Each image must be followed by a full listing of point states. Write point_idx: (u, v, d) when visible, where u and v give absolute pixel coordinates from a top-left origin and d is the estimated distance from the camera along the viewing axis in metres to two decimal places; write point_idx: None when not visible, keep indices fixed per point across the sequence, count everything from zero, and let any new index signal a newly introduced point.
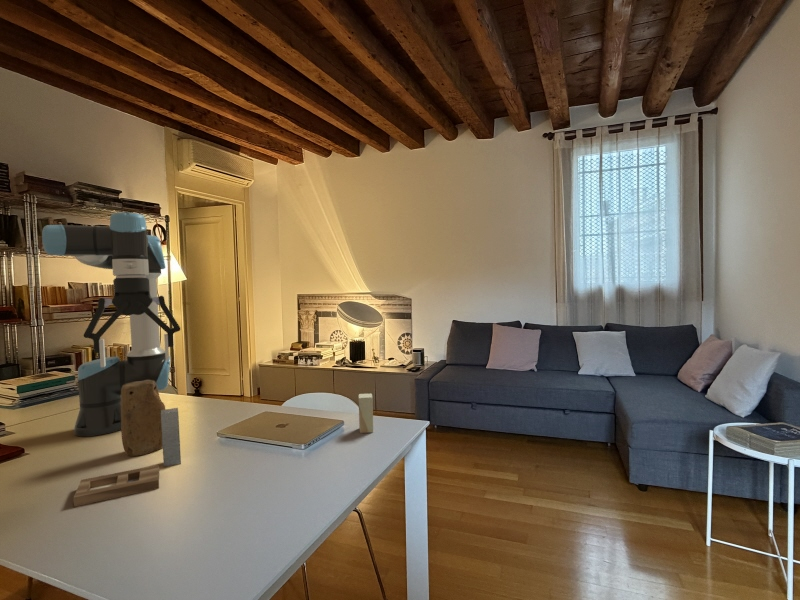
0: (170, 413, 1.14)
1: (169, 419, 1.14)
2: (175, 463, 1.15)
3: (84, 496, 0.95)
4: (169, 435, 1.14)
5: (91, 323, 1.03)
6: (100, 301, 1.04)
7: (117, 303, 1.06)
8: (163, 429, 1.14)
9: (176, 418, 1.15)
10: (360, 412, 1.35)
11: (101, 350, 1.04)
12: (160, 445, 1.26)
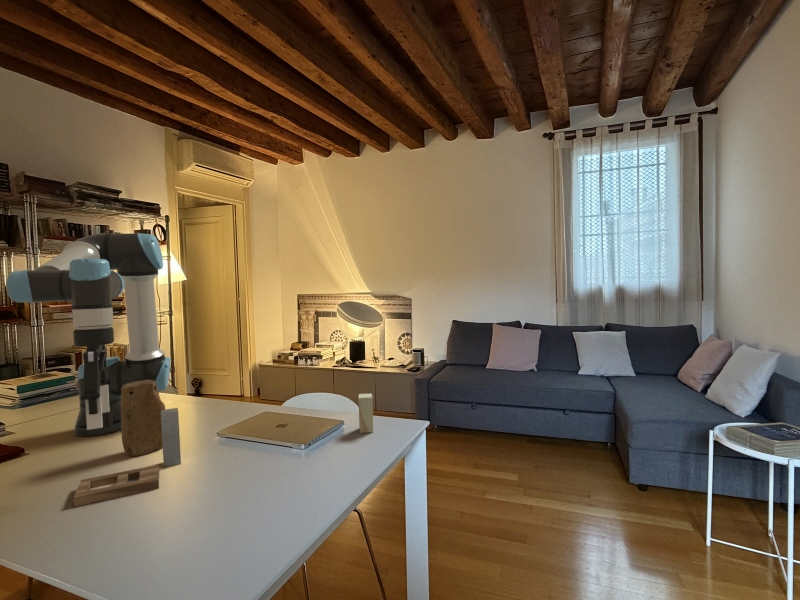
0: (170, 413, 1.14)
1: (169, 419, 1.14)
2: (175, 463, 1.15)
3: (84, 496, 0.95)
4: (169, 435, 1.14)
5: None
6: None
7: None
8: (163, 429, 1.14)
9: (176, 418, 1.15)
10: (360, 412, 1.35)
11: None
12: (160, 445, 1.26)
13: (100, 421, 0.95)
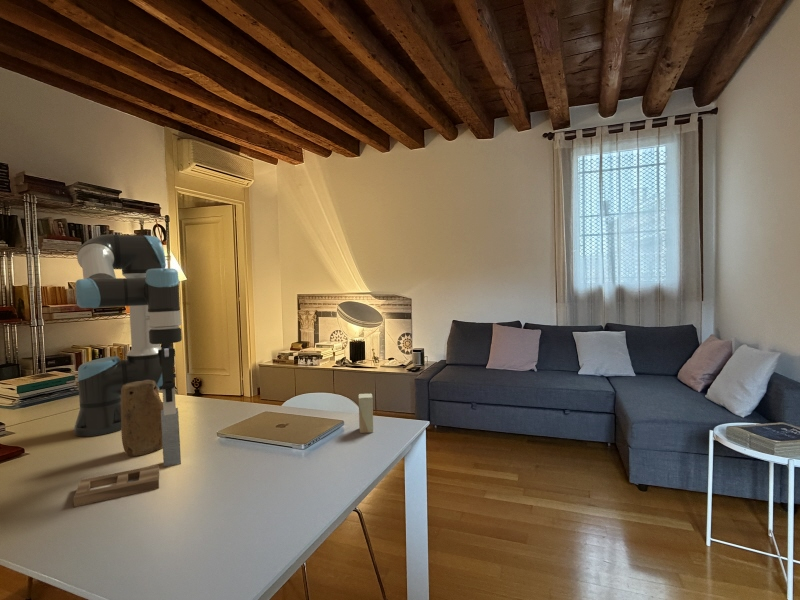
0: None
1: (169, 419, 1.14)
2: (175, 463, 1.15)
3: (84, 496, 0.95)
4: (169, 435, 1.14)
5: None
6: None
7: None
8: (163, 429, 1.14)
9: (176, 418, 1.15)
10: (360, 412, 1.35)
11: None
12: (160, 445, 1.26)
13: (174, 408, 1.10)
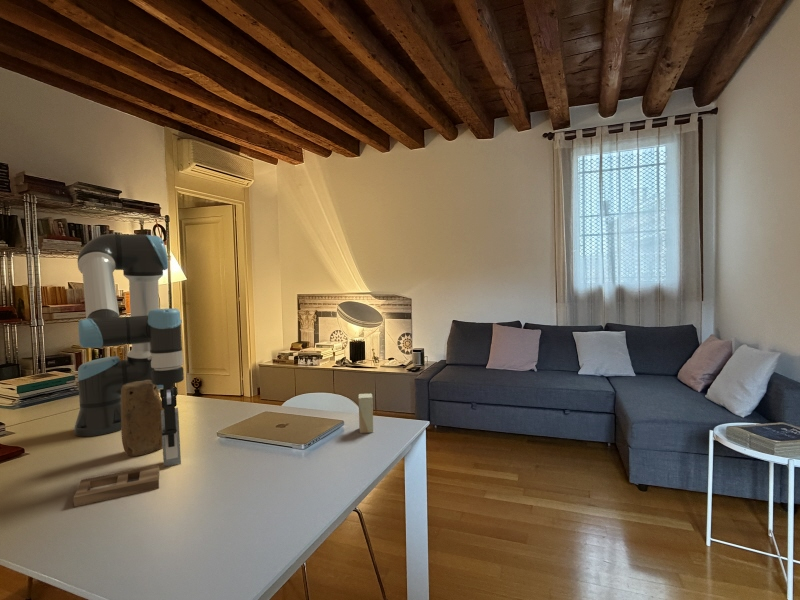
0: None
1: None
2: (175, 463, 1.15)
3: (84, 496, 0.95)
4: None
5: None
6: None
7: None
8: (163, 429, 1.14)
9: (176, 418, 1.15)
10: (360, 412, 1.35)
11: None
12: (160, 445, 1.26)
13: (176, 452, 1.15)
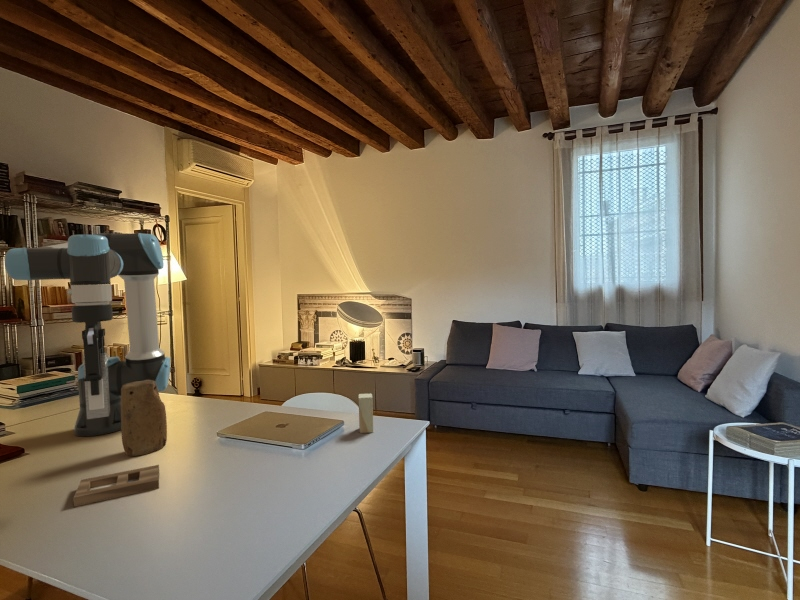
0: None
1: None
2: (101, 415, 0.99)
3: (84, 496, 0.95)
4: None
5: None
6: None
7: None
8: None
9: (102, 363, 0.99)
10: (360, 412, 1.35)
11: None
12: (160, 445, 1.26)
13: (102, 402, 0.98)
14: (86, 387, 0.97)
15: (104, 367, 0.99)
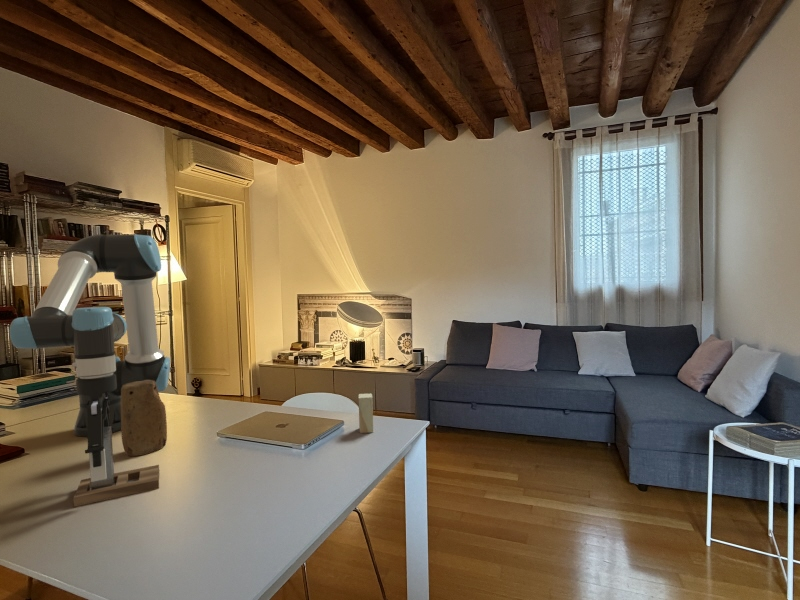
0: None
1: None
2: None
3: (84, 496, 0.95)
4: None
5: None
6: None
7: None
8: None
9: (106, 439, 1.00)
10: (360, 412, 1.35)
11: None
12: (160, 445, 1.26)
13: (104, 473, 0.96)
14: None
15: (109, 443, 1.00)
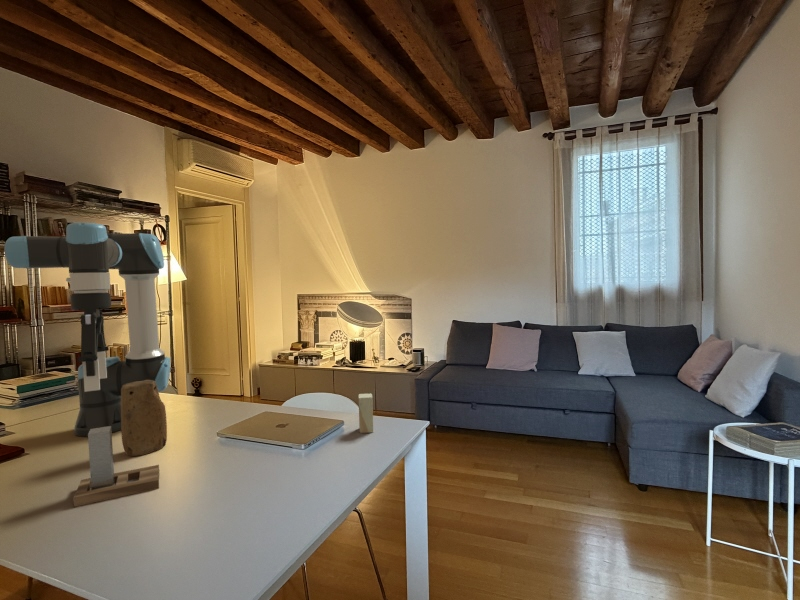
0: (99, 433, 0.99)
1: (98, 440, 0.99)
2: None
3: (84, 496, 0.95)
4: (98, 459, 0.99)
5: None
6: None
7: None
8: (91, 452, 0.98)
9: (106, 439, 1.00)
10: (360, 412, 1.35)
11: None
12: (160, 445, 1.26)
13: (97, 383, 0.95)
14: (91, 464, 0.98)
15: (109, 443, 1.00)
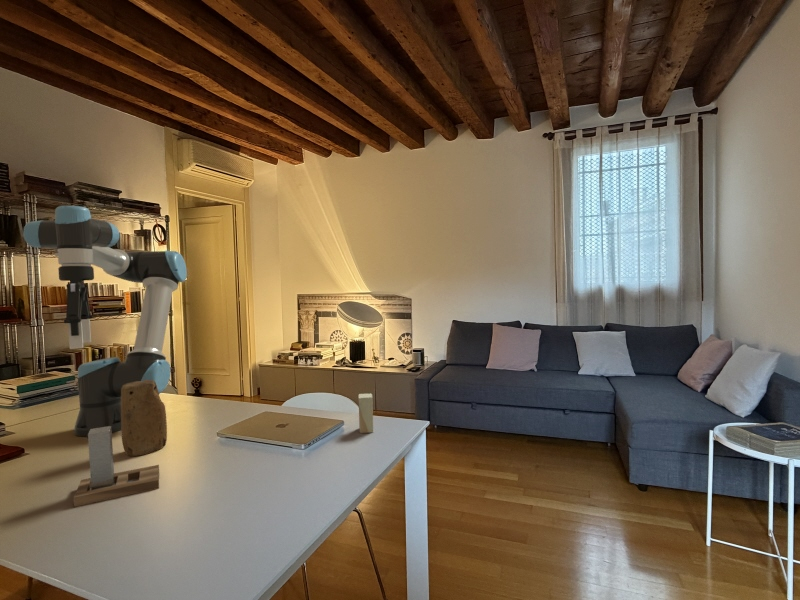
0: (99, 433, 0.99)
1: (98, 440, 0.99)
2: None
3: (84, 496, 0.95)
4: (98, 459, 0.99)
5: None
6: None
7: None
8: (91, 452, 0.98)
9: (106, 439, 1.00)
10: (360, 412, 1.35)
11: None
12: (160, 445, 1.26)
13: (81, 342, 1.11)
14: (91, 464, 0.98)
15: (109, 443, 1.00)
